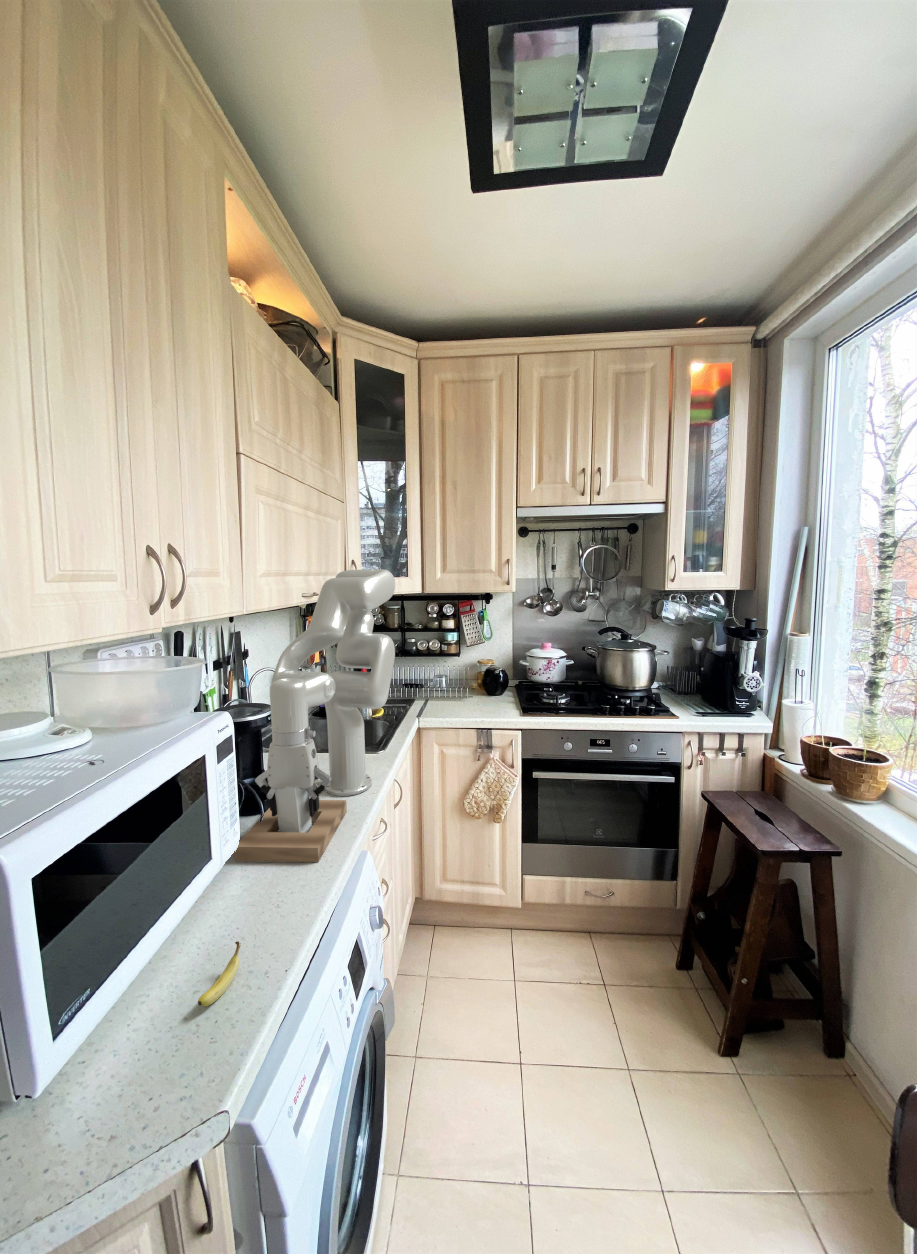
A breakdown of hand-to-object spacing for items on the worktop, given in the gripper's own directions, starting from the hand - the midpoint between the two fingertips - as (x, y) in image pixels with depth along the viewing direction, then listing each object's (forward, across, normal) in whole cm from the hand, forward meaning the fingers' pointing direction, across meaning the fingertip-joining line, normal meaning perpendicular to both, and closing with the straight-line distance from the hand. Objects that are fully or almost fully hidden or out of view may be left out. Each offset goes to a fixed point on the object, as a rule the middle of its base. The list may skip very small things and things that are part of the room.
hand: (295, 813), depth 103 cm
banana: (+5, -5, +39) cm, 40 cm away
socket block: (+5, 0, 0) cm, 5 cm away
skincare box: (+5, 0, 0) cm, 5 cm away
